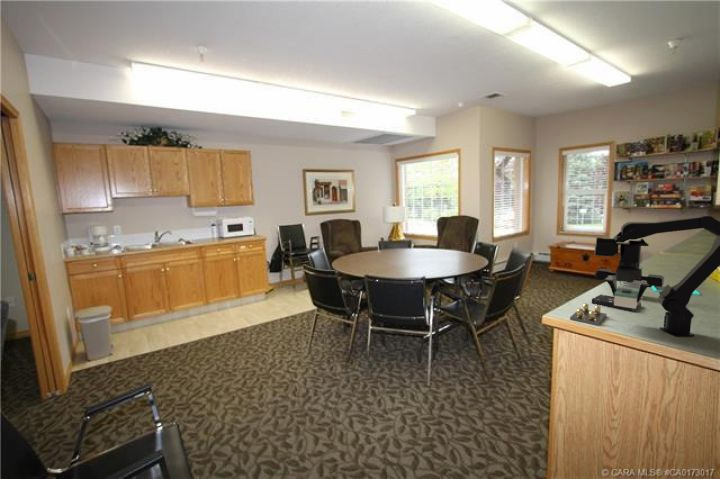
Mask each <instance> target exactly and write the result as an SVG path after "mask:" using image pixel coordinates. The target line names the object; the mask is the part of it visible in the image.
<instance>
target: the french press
mask: <svg viewBox="0 0 720 479" xmlns="http://www.w3.org/2000/svg"><path fill="white" fill-rule="evenodd" d="M639 269H642V270H643V269H644V267H643V266H642V265H640V266H639ZM641 283H642V281H637V280H634V281H633V282H632V283H628V282H625V281H619V286H621V287H629V288H636V289H640V284H641ZM642 299H644V296H643V295H642V297H641V299H640V300H642Z"/></svg>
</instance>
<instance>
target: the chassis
mask: <svg viewBox="0 0 720 479" xmlns="http://www.w3.org/2000/svg"><path fill="white" fill-rule="evenodd" d="M601 307H602V306H601V305H595V306H594V310H590V309H589V304H588V303H583V304H582V308H577V309H576V311H575V312H574V313H573V314H572V315H571V316H570V317H569V320H571V321H576V322H580V323H585V324H590V325H594V326H599V325H600V324H601V323H602V322H603V321H604V320H605V319H606V318H607V312H606V313H605V312H601V309H602V308H601Z"/></svg>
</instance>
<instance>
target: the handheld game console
mask: <svg viewBox="0 0 720 479" xmlns="http://www.w3.org/2000/svg"><path fill="white" fill-rule="evenodd" d="M665 287H666V285H665V286H664V285H662V286H652V287H650V288H651V290H653V292H657V293H659V292H661V291H663V290H664V288H665ZM692 296H701V293H699V292H698V291H697V289H696V290H695V291H694V292H693V293H692Z"/></svg>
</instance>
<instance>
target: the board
mask: <svg viewBox="0 0 720 479" xmlns="http://www.w3.org/2000/svg"><path fill="white" fill-rule="evenodd" d="M638 293H639V289H636V288H629V287H626V286H624V287H621V286H620V285H619V286H618V285H617V290H616V292H615V296H613V297H614V305H615V306H622V307H628V308H634V309H636V306H637V303H638V302H637V297H638Z"/></svg>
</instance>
